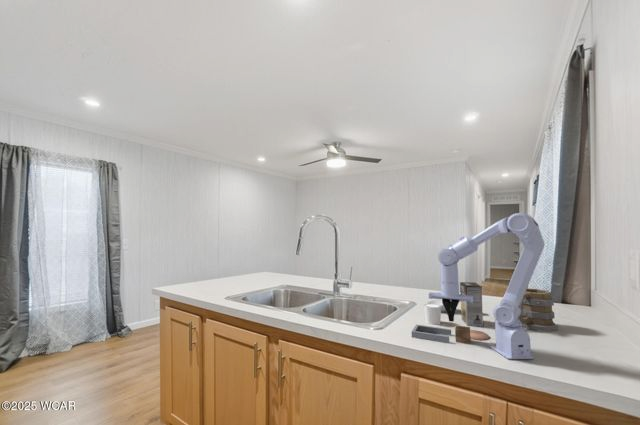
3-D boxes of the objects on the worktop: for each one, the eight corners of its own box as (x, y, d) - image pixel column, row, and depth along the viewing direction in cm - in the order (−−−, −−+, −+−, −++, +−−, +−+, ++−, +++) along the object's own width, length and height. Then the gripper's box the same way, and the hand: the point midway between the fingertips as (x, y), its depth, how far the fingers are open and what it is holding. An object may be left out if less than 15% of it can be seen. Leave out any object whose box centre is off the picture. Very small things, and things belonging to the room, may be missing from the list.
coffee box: (460, 319, 128) (459, 281, 129) (476, 319, 126) (475, 282, 127) (466, 325, 119) (465, 285, 120) (484, 326, 117) (482, 286, 118)
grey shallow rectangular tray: (451, 334, 108) (451, 329, 108) (449, 343, 100) (448, 337, 101) (416, 329, 114) (416, 324, 114) (411, 337, 106) (411, 331, 106)
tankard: (531, 319, 126) (529, 284, 127) (564, 328, 114) (561, 289, 115) (497, 325, 119) (495, 287, 120) (528, 335, 107) (526, 293, 108)
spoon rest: (426, 312, 139) (425, 297, 140) (427, 306, 150) (427, 292, 151) (482, 317, 130) (481, 301, 130) (479, 311, 141) (479, 296, 141)
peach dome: (494, 339, 103) (494, 338, 103) (468, 340, 103) (468, 338, 103) (480, 331, 112) (479, 329, 112) (456, 331, 112) (456, 329, 112)
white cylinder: (423, 323, 122) (422, 306, 122) (425, 319, 128) (425, 302, 128) (440, 325, 119) (440, 308, 119) (442, 321, 125) (442, 304, 125)
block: (470, 340, 103) (470, 327, 104) (470, 344, 99) (469, 330, 100) (456, 338, 105) (456, 325, 106) (455, 342, 101) (455, 328, 102)
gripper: (472, 281, 105) (474, 320, 105) (430, 279, 112) (431, 315, 111) (472, 285, 99) (474, 326, 98) (427, 282, 106) (428, 320, 105)
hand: (451, 320), depth 104 cm, fingers closed
